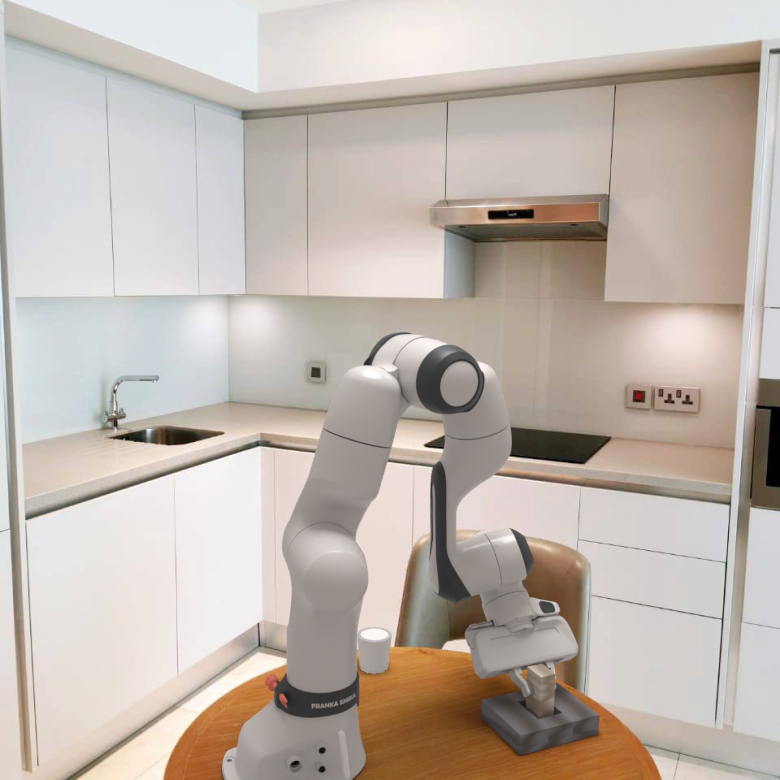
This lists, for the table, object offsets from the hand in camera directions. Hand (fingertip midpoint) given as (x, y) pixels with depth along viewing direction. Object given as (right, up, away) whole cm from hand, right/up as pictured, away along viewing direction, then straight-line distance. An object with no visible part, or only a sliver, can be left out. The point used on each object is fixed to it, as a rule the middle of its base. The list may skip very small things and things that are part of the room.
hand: (540, 693), depth 134 cm
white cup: (-29, -3, +21) cm, 36 cm away
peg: (0, -5, +1) cm, 5 cm away
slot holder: (0, -6, +1) cm, 6 cm away
